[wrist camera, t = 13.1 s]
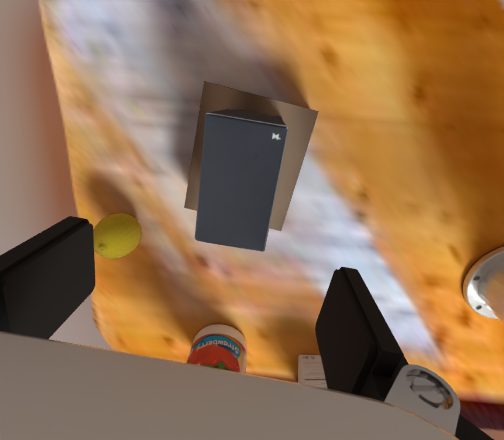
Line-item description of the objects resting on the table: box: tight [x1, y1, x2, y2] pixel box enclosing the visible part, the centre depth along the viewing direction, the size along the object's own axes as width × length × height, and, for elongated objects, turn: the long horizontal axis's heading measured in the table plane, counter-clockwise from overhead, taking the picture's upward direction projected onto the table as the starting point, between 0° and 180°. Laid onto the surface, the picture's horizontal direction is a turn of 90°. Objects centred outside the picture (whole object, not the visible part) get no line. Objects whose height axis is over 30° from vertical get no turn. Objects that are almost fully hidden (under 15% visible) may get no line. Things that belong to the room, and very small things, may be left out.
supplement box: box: [298, 355, 327, 388], centre depth 45 cm, size 7×7×13 cm
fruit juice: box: [187, 324, 247, 374], centre depth 36 cm, size 9×9×28 cm
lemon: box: [93, 213, 142, 259], centre depth 37 cm, size 6×6×8 cm
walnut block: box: [184, 81, 319, 231], centre depth 34 cm, size 12×14×6 cm
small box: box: [195, 109, 288, 251], centre depth 26 cm, size 11×6×10 cm, turn 171°
